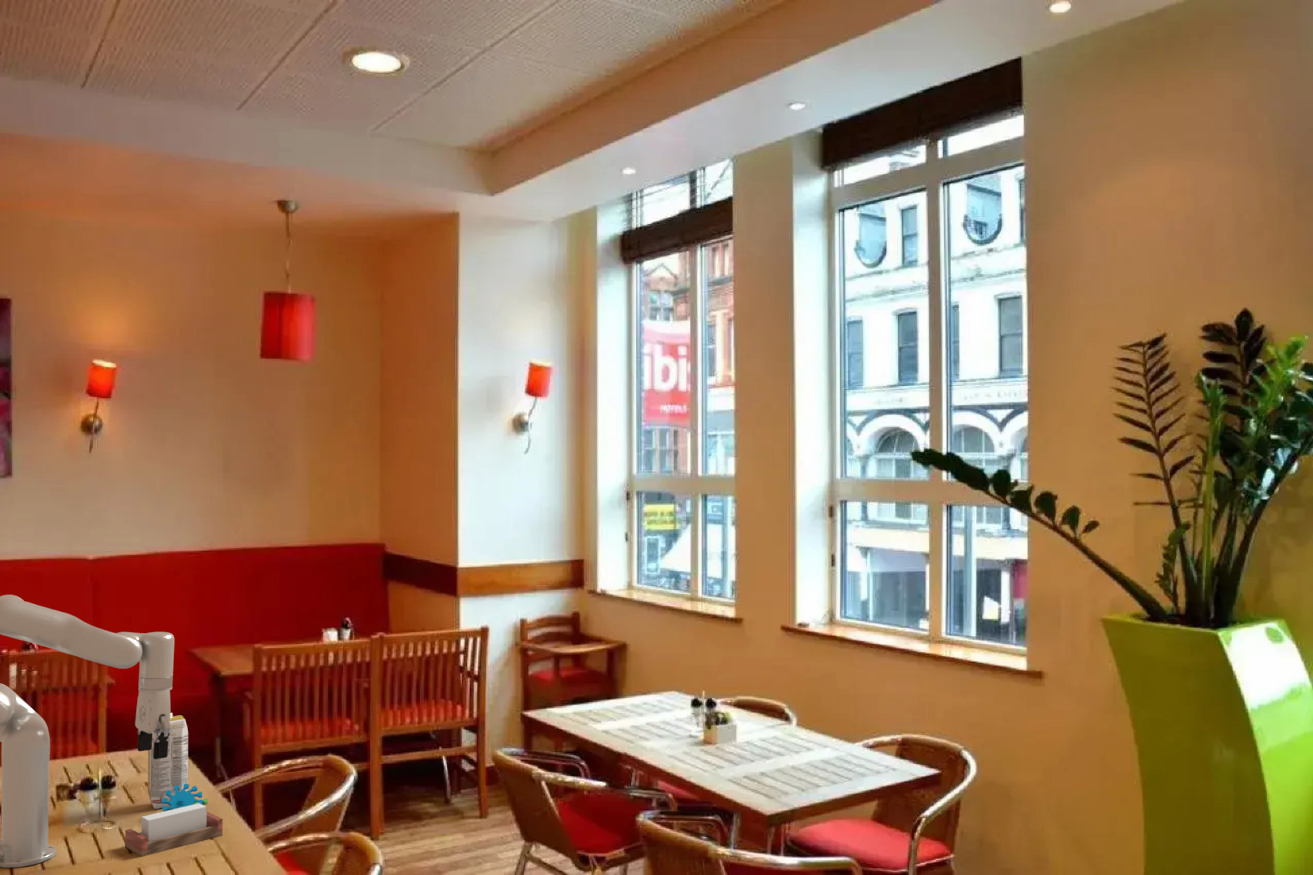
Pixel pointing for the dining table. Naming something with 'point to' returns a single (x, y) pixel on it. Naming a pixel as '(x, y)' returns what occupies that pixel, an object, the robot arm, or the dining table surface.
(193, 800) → the blue spiky virus model
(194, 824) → the long white brick
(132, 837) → the cradle
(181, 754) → the juice carton
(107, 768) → the dining table surface
